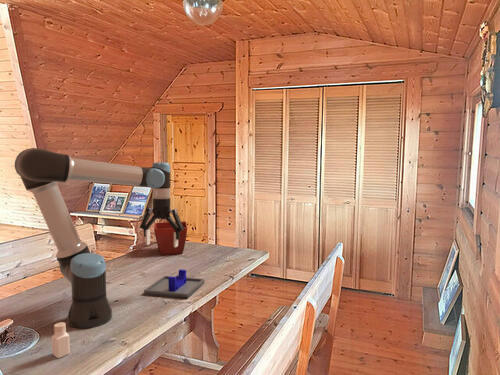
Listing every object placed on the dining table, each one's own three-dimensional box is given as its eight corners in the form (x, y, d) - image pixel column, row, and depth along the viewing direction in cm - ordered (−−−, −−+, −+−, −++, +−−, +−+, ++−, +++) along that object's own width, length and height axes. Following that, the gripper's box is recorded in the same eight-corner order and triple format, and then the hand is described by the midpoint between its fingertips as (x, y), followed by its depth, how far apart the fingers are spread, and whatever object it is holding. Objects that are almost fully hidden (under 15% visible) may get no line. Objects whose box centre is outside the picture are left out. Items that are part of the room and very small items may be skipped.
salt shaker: (57, 359, 118) (55, 328, 117) (51, 354, 121) (50, 324, 120) (70, 354, 121) (69, 324, 120) (65, 349, 124) (63, 320, 123)
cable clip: (177, 281, 184) (177, 269, 183) (186, 282, 183) (186, 269, 182) (165, 290, 172) (165, 277, 172) (175, 291, 171) (174, 278, 171)
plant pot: (154, 257, 229) (153, 228, 228) (155, 249, 248) (154, 222, 246) (187, 255, 233) (187, 227, 231) (186, 247, 252) (186, 221, 250)
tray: (187, 298, 165) (187, 294, 165) (144, 294, 170) (144, 290, 170) (204, 283, 185) (204, 279, 185) (164, 279, 189) (164, 275, 189)
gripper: (191, 198, 174) (191, 245, 176) (140, 195, 180) (141, 241, 182) (184, 199, 167) (184, 249, 168) (131, 197, 173) (132, 245, 175)
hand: (161, 245), depth 175 cm, fingers open, 13 cm apart
